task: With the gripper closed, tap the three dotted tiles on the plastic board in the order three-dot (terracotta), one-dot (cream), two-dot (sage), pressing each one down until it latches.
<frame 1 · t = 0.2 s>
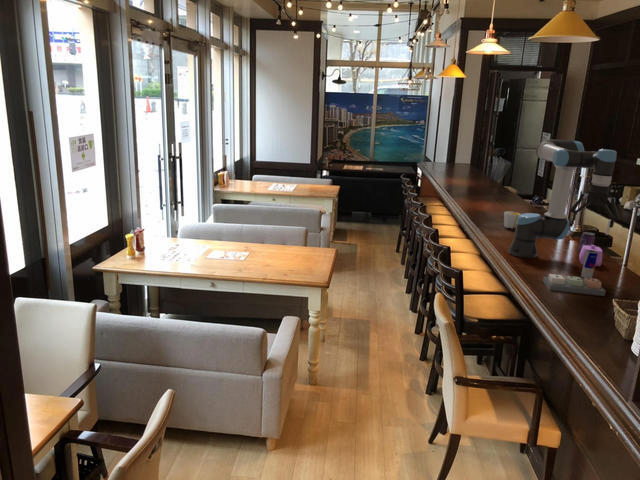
hand: (590, 231, 234), 28 cm above the bar counter, fingers open, 13 cm apart
mug: (512, 228, 352), on the bar counter
teapot: (589, 263, 284), on the bar counter
grey blue tall box: (585, 280, 255), on the bar counter
tile 1: (556, 279, 241), point 4 cm above the bar counter, slide at 0.0 cm
tile 2: (574, 281, 240), point 4 cm above the bar counter, slide at 0.0 cm
board: (572, 288, 241), on the bar counter
tile 3: (592, 283, 239), point 4 cm above the bar counter, slide at 0.0 cm
beverage can 2: (584, 253, 303), on the bar counter
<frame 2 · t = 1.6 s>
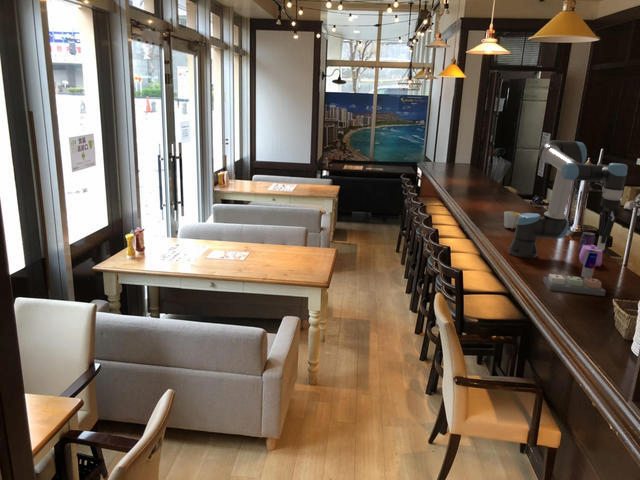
hand: (600, 249, 234), 20 cm above the bar counter, fingers closed
nothing on the bar counter moved.
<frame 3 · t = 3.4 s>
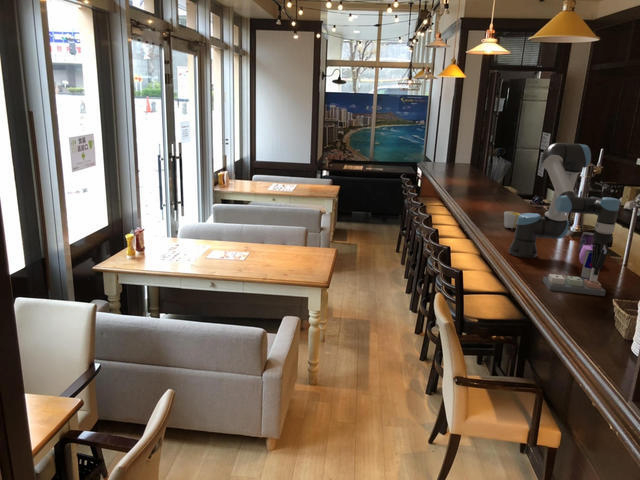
hand: (593, 280, 239), 5 cm above the bar counter, fingers closed
tile 3: (592, 284, 240), point 3 cm above the bar counter, slide at 0.7 cm, touching gripper
everything else where it was.
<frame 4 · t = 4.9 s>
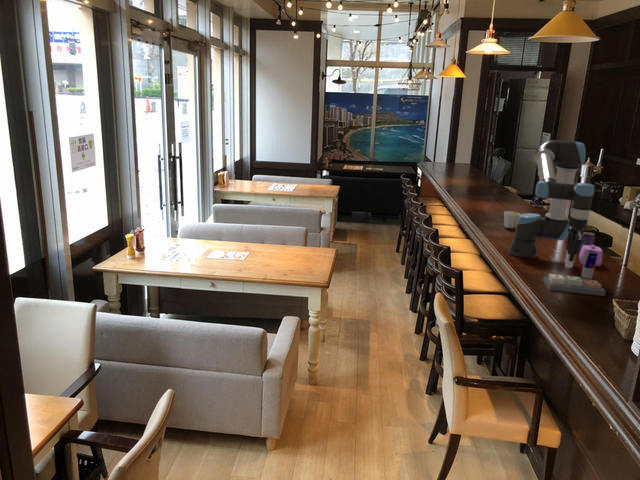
hand: (568, 266, 239), 10 cm above the bar counter, fingers closed
tile 3: (592, 285, 240), point 3 cm above the bar counter, slide at 0.9 cm
everything else where it was.
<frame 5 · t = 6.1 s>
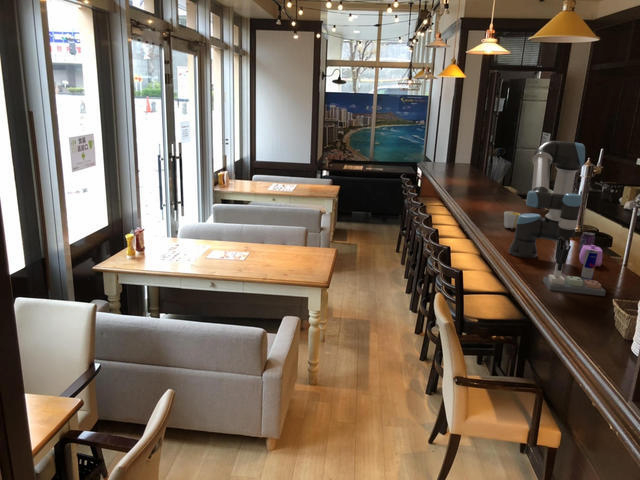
hand: (557, 276, 241), 5 cm above the bar counter, fingers closed
tile 1: (556, 279, 242), point 3 cm above the bar counter, slide at 0.3 cm, touching gripper
everything else where it was.
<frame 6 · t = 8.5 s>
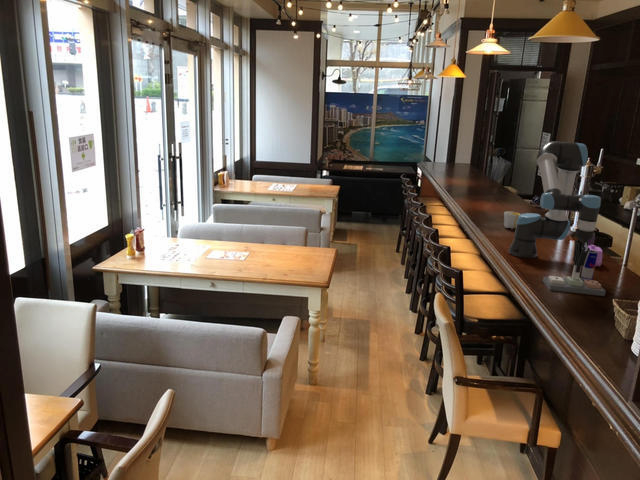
hand: (575, 278, 240), 5 cm above the bar counter, fingers closed
tile 1: (556, 281, 242), point 3 cm above the bar counter, slide at 0.9 cm
tile 2: (574, 281, 240), point 3 cm above the bar counter, slide at 0.3 cm, touching gripper
everything else where it was.
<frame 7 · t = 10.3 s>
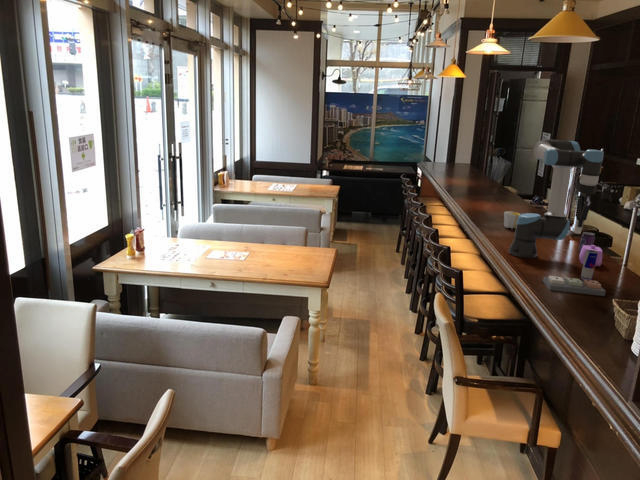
hand: (577, 233, 243), 25 cm above the bar counter, fingers closed
tile 2: (573, 283, 241), point 3 cm above the bar counter, slide at 0.9 cm
everything else where it was.
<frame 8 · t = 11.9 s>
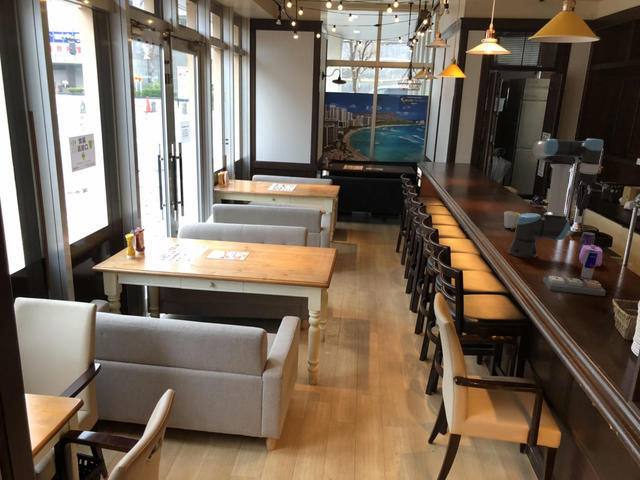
hand: (577, 222, 244), 29 cm above the bar counter, fingers closed
nothing on the bar counter moved.
at the end: tile 3 slide at 0.9 cm; tile 1 slide at 0.9 cm; tile 2 slide at 0.9 cm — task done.
